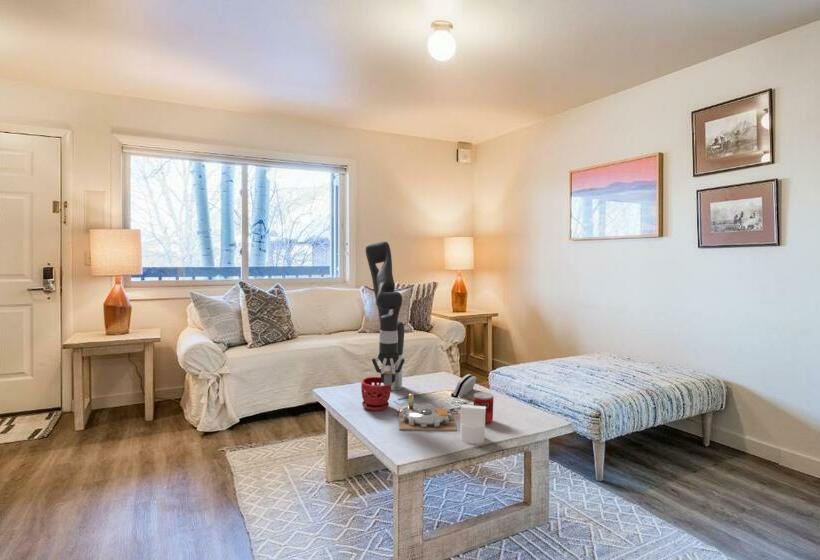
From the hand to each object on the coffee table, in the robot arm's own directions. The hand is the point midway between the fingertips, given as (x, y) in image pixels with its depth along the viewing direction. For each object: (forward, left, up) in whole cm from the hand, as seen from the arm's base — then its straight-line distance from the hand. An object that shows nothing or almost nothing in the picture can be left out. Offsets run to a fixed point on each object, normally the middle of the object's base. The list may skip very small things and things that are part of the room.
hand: (388, 382), depth 192 cm
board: (+2, +16, -15) cm, 22 cm away
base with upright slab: (+20, +32, -15) cm, 40 cm away
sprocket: (+2, +16, -15) cm, 22 cm away
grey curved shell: (-33, +36, -15) cm, 52 cm away
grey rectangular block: (0, 0, 0) cm, 0 cm away
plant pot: (-12, -5, -15) cm, 20 cm away
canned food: (+3, +39, -15) cm, 42 cm away
